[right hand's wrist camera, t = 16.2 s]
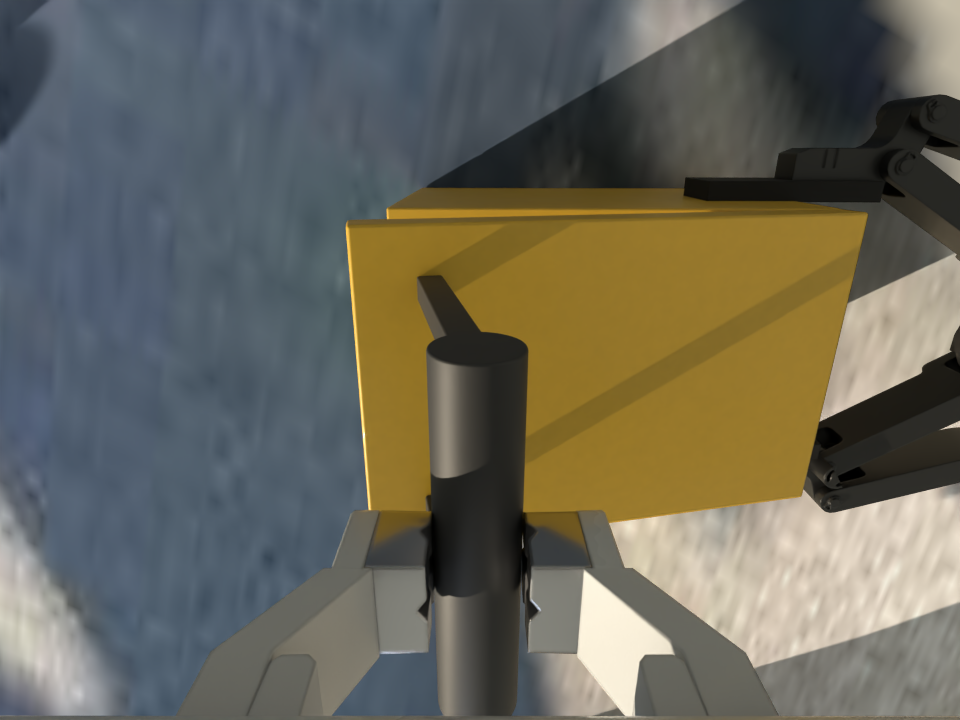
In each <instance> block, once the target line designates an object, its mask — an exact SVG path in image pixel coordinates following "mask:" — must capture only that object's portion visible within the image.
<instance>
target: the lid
mask: <svg viewBox="0 0 960 720" xmlns="http://www.w3.org/2000/svg"><path fill="white" fill-rule="evenodd" d="M867 218H868V213H866V212H860V211H851V210H843V209H821V210H777V211H732V212H687V213H642V214H597V215H552V216H507V217H462V218H417V219H372V220H349V221H347V224H346V235H347V247H348V259H349V272H350V284H351V296H352V309H353V321H354V333H355V346H356V358H357V370H358V383H359V395H360V407H361V420H362V432H363V444H364V456H365V469H366V481H367V493H368V506H369V510H379V511H381V510H395V511H432V514H433V540H434V541H433V558H434V569H435V593H434V595H435V624H436V652H437V681H438V702H439V706H440V709H441V711H442V713H443V715H444V716H511V715H512V713H513V711H514V709H515V706H516V702H517V683H518V653H519V623H520V593H521V563H522V535H523V534H522V533H523V512H561V511H580V510H603V511H604V512H605V514H606V516H607V519H608V522H609V523H613V522H620V521H628V520H635V519H642V518H650V517H657V516H664V515H672V514H679V513H686V512H694V511H701V510H708V509H716V508H723V507H730V506H738V505H745V504H753V503H760V502H767V501H775V500H782V499H789V498H797V497H801V496H802V492H803V488H804V484H805V480H806V475H807V471H808V467H809V463H810V459H811V454H812V450H813V446H814V442H815V438H816V433H817V429H818V425H819V421H820V416H821V412H822V408H823V404H824V400H825V395H826V391H827V387H828V383H829V379H830V374H831V370H832V366H833V362H834V357H835V353H836V349H837V345H838V341H839V336H840V332H841V328H842V324H843V320H844V315H845V311H846V307H847V303H848V299H849V294H850V290H851V286H852V282H853V277H854V273H855V269H856V265H857V261H858V256H859V252H860V248H861V244H862V240H863V235H864V231H865V227H866V223H867Z"/></svg>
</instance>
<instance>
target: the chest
mask: <svg viewBox="0 0 960 720" xmlns="http://www.w3.org/2000/svg"><path fill="white" fill-rule="evenodd" d="M683 194H684V188H422V189H420V190H418V191H416V192H414V193H413V194H411V195H409V196H407V197H406V198H404V199H402V200H400V201H399V202H397V203H395V204H394V205H392V206H390V207H388V208H387V219H417V218H462V217H507V216H552V215H597V214H642V213H687V212H732V211H777V210H821V209H839V208H834V207H828V206H821V205H815V204H809V203H803V202H797V201H705V200H700V199H696V198H691V197H687V196H683Z"/></svg>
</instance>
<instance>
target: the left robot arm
mask: <svg viewBox="0 0 960 720" xmlns="http://www.w3.org/2000/svg"><path fill="white" fill-rule="evenodd" d="M876 125H877V128H876V130H875V132H874V134H873V135H872V137H871V138H870V139H869V140H868V141H867V142H866V143H865V144H863V145H862V146H859V147H857V148H792V149H789V150H786V151H784V152H781V153H779V156H778V161H777V167H776V172H775V178H685V186H684V194H683V196H687V197H691V198H696V199H700V200H705V201H797V202H880V200H881V198H882V199H883V200H884V201H886V202H887V203H888V204H890V205H891V206H892V207H894V208H895V209H897V210H898V211H899V212H901V213H902V214H903V215H905V216H906V217H907V218H909V219H910V220H911V221H913V222H914V223H915V224H917V225H918V226H920V227H921V228H922V229H924V230H925V231H926V232H928V233H929V234H930V235H932V236H933V237H934V238H936V239H937V240H938V241H940V242H941V243H942V244H944V245H945V246H947V247H948V248H949V249H951V250H952V251H953V252H955V253H956V254H957V255H956V258H957V259H958V260H959V261H960V184H959V183H958V182H956V181H955V180H954V179H952V178H951V177H950V176H949V175H947V174H946V173H945V172H943V171H942V170H941V169H939V168H938V167H937V166H936V165H934V164H933V163H932V162H930V161H929V160H928V159H927V158H925V157H924V156H923V155H921V154H920V152H921V151H922V149H923V147H925V148H927V149H930V150H933V151H936V152H938V153H941V154H944V155H946V156H949V157H952V158H955V159H957V160H960V100H957V99H955V98H952V97H949V96H947V95H932V96H924V97H916V98H908V99H900V100H893V101H890V102H887V103H886V104H884V105H883V106H882V107H881V108H880V110H879V111H878V113H877V116H876ZM950 351H952V352H950V353H948V354H946V355H944V356H941V357H939V358H937V359H935V360H933V361H931V362H929V363H927V364H925V365H924V366H923V367H922V373H921V374H919V375H917V376H915V377H913V378H911V379H909V380H907V381H905V382H903V383H901V384H898V385H896V386H894V387H892V388H890V389H888V390H886V391H884V392H882V393H879V394H877V395H875V396H873V397H871V398H869V399H867V400H865V401H863V402H860V403H858V404H856V405H854V406H852V407H850V408H848V409H846V410H844V411H841V412H839V413H837V414H835V415H833V416H831V417H829V418H827V419H825V420H822V421H820V422H819V425H818V429H817V433H816V438H815V442H814V446H813V450H812V454H811V459H810V463H809V467H808V471H807V475H806V480H805V484H804V488H803V489H804V490H805V491H806V492H807V493H808V495H809V496H810V497H811V498H812V499H813V500H814V501H815V502H816V503H817V504H818V505H819V506H820V507H821V508H822V509H823V510H824V511H825V512H829V513H832V512H838V511H842V510H847V509H851V508H855V507H859V506H863V505H867V504H872V503H876V502H880V501H884V500H888V499H893V498H897V497H901V496H905V495H909V494H913V493H918V492H922V491H926V490H930V489H934V488H939V487H943V486H947V485H951V484H955V483H959V482H960V427H958V428H948V429H943V430H940V429H942V428H945V427H947V426H949V425H951V424H953V423H956V422H958V421H960V326H959V328H958V330H957V331H956V333H955V335H954V338H953V341H952V344H951V348H950Z"/></svg>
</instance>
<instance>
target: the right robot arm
mask: <svg viewBox="0 0 960 720" xmlns="http://www.w3.org/2000/svg"><path fill="white" fill-rule="evenodd" d="M522 534H523V544H524V548H523V549H522V563H521V581H522V595H523V603H524V604H525V627H526V636H527V646H528V652H529V653H564V654H577V657H578V658H579V659H580V661H581V662H582V663H583V664H584V666H585V667H586V668H587V669H588V671H589V672H590V673H591V674H592V676H593V677H594V678H595V679H596V680H597V682H598V683H599V684H600V685H601V687H602V688H603V689H604V690H605V692H606V693H607V694H608V695H609V697H610V698H611V699H612V700H613V702H614V703H615V704H616V705H617V707H618V708H619V709H620V710H621V712H622V713H623V714H624V715H625V716H332V714H333V713H334V712H335V711H336V709H337V708H338V707H339V706H340V705H341V703H342V702H343V701H344V700H345V698H346V697H347V696H348V695H349V694H350V692H351V691H352V690H353V689H354V687H355V686H356V685H357V684H358V682H359V681H360V680H361V679H362V678H363V676H364V675H365V674H366V673H367V671H368V670H369V669H370V668H371V667H372V665H373V664H374V663H375V662H376V660H377V659H378V658H379V654H392V653H426V652H428V651H429V642H430V633H431V624H432V614H431V604H432V603H433V602H434V593H435V569H434V558H433V541H434V540H433V514H432V511H395V510H381V511H379V510H355V511H354V512H353V513H352V514H351V515H350V518H349V520H348V523H347V526H346V529H345V532H344V534H343V537H342V540H341V543H340V546H339V548H338V551H337V554H336V557H335V560H334V562H333V565H332V568H323V569H322V570H320V571H319V572H318V573H316V574H315V575H314V576H312V577H311V578H310V579H308V580H307V581H306V582H304V583H303V584H302V585H300V586H299V587H297V588H296V589H295V590H293V591H292V592H291V593H289V594H288V595H287V596H285V597H284V598H283V599H281V600H280V601H279V602H277V603H276V604H275V605H273V606H272V607H270V608H269V609H268V610H266V611H265V612H264V613H262V614H261V615H260V616H258V617H257V618H256V619H254V620H253V621H252V622H250V623H249V624H247V625H246V626H245V627H243V628H242V629H241V630H239V631H238V632H237V633H235V634H234V635H233V636H231V637H230V638H229V639H227V640H226V641H224V642H223V643H222V644H220V645H219V646H218V647H216V648H215V649H214V650H212V651H211V652H210V654H209V655H208V657H207V659H206V661H205V663H204V665H203V667H202V668H201V670H200V672H199V674H198V676H197V678H196V679H195V681H194V683H193V685H192V687H191V689H190V690H189V692H188V694H187V696H186V698H185V700H184V702H183V703H182V705H181V707H180V709H179V711H178V713H177V714H176V716H0V720H960V716H779V715H778V713H777V711H776V709H775V707H774V706H773V704H772V702H771V700H770V698H769V696H768V694H767V692H766V690H765V688H764V687H763V685H762V683H761V681H760V679H759V677H758V675H757V673H756V671H755V670H754V668H753V666H752V664H751V662H750V660H749V658H748V656H747V654H746V653H745V652H744V651H743V650H741V649H740V648H739V647H737V646H736V645H735V644H733V643H732V642H731V641H729V640H728V639H727V638H725V637H724V636H723V635H721V634H720V633H719V632H717V631H716V630H715V629H713V628H712V627H711V626H709V625H708V624H707V623H705V622H704V621H703V620H701V619H700V618H699V617H697V616H696V615H695V614H693V613H692V612H690V611H689V610H688V609H686V608H685V607H684V606H682V605H681V604H680V603H678V602H677V601H676V600H674V599H673V598H672V597H670V596H669V595H668V594H666V593H665V592H664V591H662V590H661V589H660V588H658V587H657V586H656V585H654V584H653V583H652V582H650V581H649V580H648V579H646V578H645V577H644V576H642V575H641V574H640V573H638V572H637V571H636V570H634V569H633V568H625V567H624V564H623V562H622V559H621V556H620V553H619V550H618V548H617V545H616V542H615V539H614V536H613V533H612V531H611V528H610V525H609V522H608V519H607V516H606V514H605V512H604V511H603V510H580V511H561V512H523V533H522Z"/></svg>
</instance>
